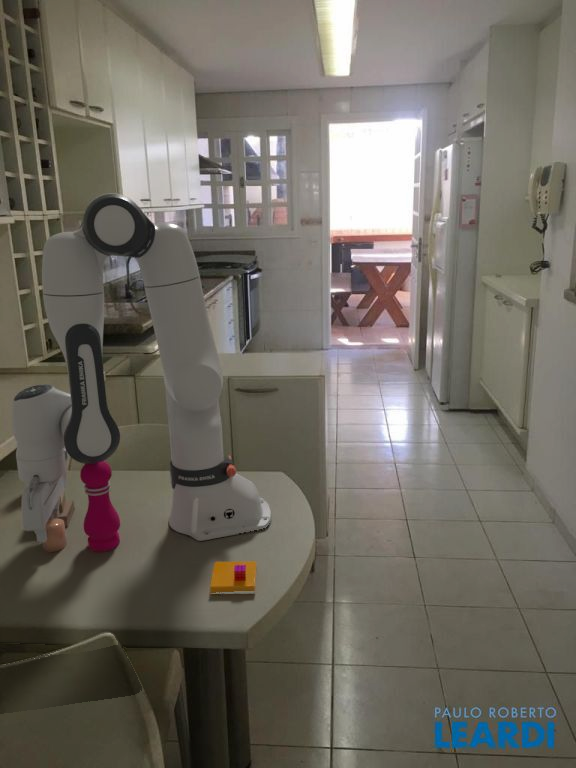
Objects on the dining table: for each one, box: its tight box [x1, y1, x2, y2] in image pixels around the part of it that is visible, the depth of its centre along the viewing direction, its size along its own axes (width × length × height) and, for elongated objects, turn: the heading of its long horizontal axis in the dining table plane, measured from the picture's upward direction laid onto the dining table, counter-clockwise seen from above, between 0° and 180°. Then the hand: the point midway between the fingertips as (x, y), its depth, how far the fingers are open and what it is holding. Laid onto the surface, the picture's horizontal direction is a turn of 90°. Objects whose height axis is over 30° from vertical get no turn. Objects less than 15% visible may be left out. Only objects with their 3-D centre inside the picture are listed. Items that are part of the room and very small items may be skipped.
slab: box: [48, 499, 75, 528], centre depth 140 cm, size 8×8×3 cm
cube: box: [59, 489, 67, 512], centre depth 139 cm, size 5×5×5 cm
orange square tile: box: [209, 560, 258, 593], centre depth 116 cm, size 8×8×4 cm
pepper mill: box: [79, 460, 121, 553], centre depth 127 cm, size 7×7×20 cm
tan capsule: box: [42, 519, 68, 553], centre depth 129 cm, size 5×5×5 cm
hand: (48, 528), depth 129 cm, fingers open, 8 cm apart
